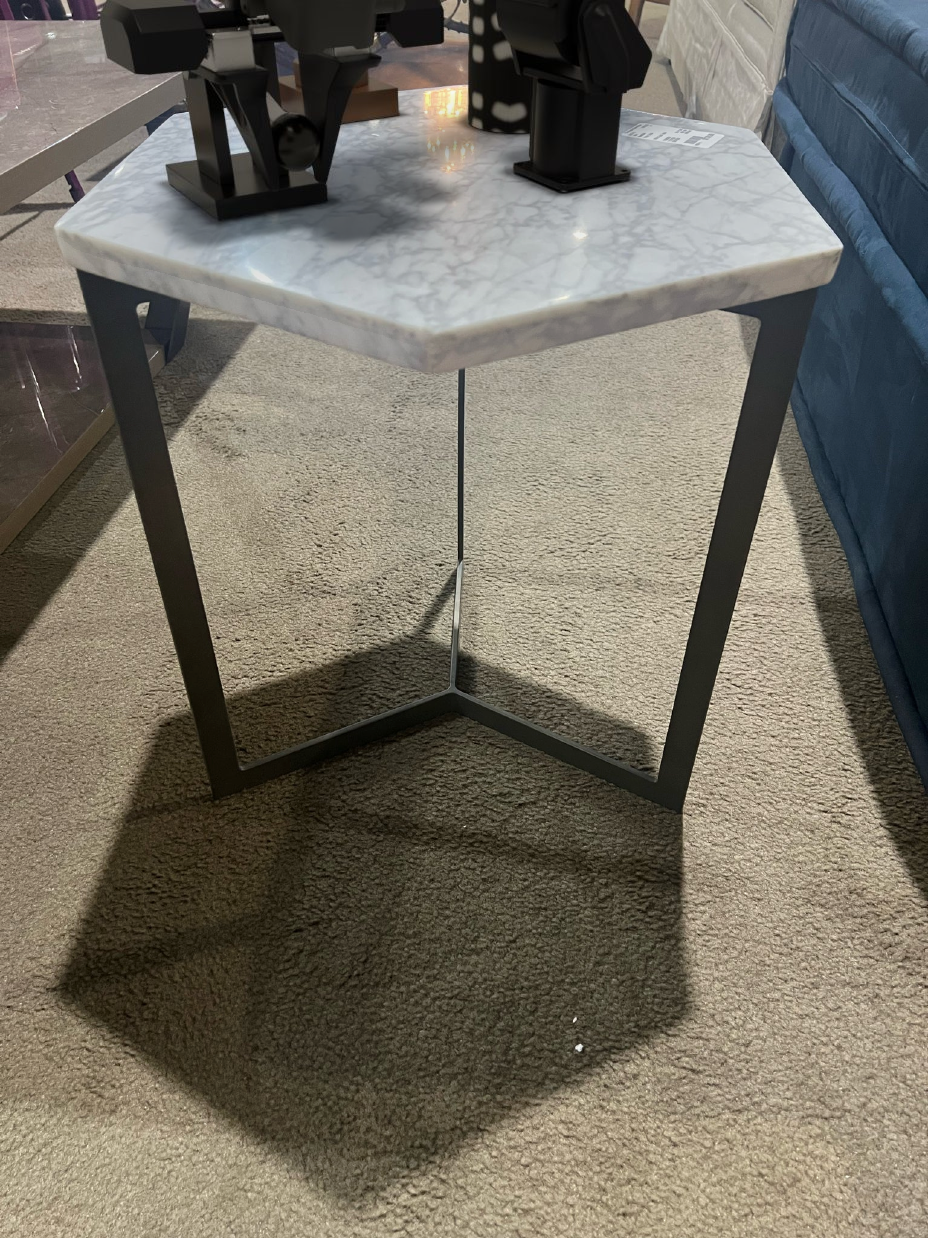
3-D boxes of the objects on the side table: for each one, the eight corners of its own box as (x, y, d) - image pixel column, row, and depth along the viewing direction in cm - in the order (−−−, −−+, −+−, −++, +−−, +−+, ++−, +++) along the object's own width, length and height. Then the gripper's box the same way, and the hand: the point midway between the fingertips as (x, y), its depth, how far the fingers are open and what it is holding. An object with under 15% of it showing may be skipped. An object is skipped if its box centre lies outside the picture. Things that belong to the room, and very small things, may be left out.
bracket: (328, 201, 64) (313, 35, 58) (218, 220, 61) (189, 47, 54) (270, 166, 70) (252, 14, 64) (168, 183, 67) (137, 24, 61)
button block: (399, 115, 83) (397, 63, 81) (318, 126, 80) (313, 73, 77) (348, 94, 90) (345, 46, 87) (272, 104, 86) (266, 54, 84)
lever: (328, 177, 57) (330, 126, 55) (281, 185, 56) (280, 133, 54) (243, 74, 63) (241, 23, 60) (198, 79, 62) (194, 27, 59)
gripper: (131, -129, 39) (198, 251, 49) (500, -134, 46) (492, 195, 57) (63, -137, 46) (134, 196, 56) (392, -140, 54) (402, 153, 64)
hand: (297, 185), depth 58 cm, fingers closed on lever, 3 cm apart
